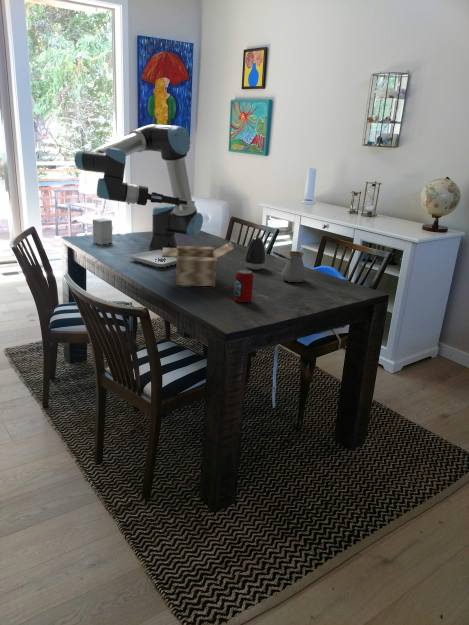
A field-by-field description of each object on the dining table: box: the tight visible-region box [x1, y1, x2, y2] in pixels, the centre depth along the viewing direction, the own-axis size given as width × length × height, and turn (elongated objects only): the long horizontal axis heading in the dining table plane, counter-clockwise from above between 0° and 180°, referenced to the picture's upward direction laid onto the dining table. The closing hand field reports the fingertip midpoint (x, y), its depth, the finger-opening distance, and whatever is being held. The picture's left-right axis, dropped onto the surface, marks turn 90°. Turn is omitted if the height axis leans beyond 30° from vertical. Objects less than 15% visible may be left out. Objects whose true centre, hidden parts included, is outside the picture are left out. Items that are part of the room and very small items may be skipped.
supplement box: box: [92, 217, 113, 246], centre depth 266 cm, size 7×7×13 cm
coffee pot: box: [271, 250, 308, 283], centre depth 220 cm, size 21×12×15 cm, turn 132°
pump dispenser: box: [244, 236, 267, 271], centre depth 238 cm, size 10×10×15 cm
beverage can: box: [233, 268, 254, 303], centre depth 192 cm, size 7×7×12 cm
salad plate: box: [129, 250, 177, 268], centre depth 239 cm, size 21×21×3 cm
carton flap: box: [214, 241, 235, 260], centre depth 210 cm, size 8×13×1 cm
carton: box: [162, 245, 219, 288], centre depth 211 cm, size 22×24×13 cm
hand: (194, 204), depth 208 cm, fingers closed
